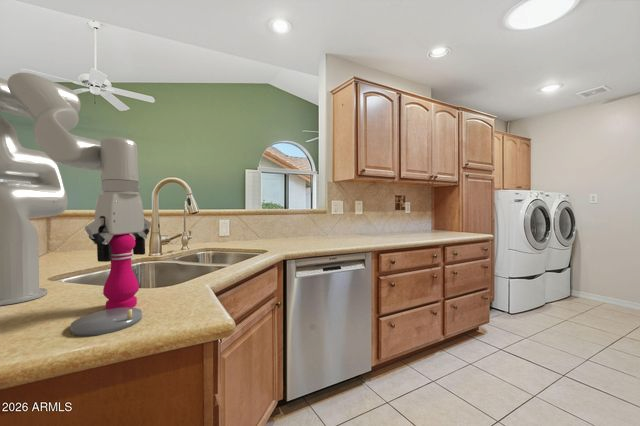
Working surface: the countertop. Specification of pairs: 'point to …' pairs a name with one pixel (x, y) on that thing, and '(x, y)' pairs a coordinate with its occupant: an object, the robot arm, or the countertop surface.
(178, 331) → the countertop surface
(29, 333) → the countertop surface
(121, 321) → the grey flat disc
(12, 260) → the robot arm
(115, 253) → the pepper mill
